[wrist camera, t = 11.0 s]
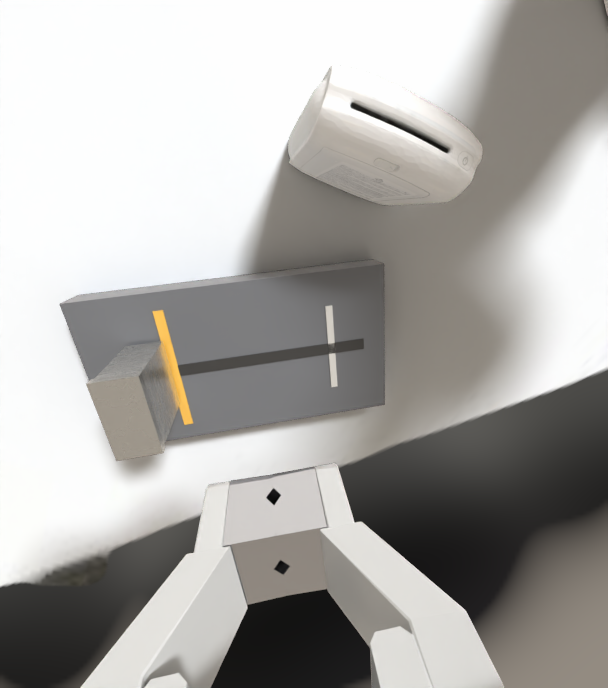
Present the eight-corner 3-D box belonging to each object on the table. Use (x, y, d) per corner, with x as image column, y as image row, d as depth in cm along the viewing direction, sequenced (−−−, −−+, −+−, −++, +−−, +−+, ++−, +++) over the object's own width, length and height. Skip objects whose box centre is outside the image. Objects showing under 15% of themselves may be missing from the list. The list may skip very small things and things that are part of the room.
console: (372, 259, 31) (384, 263, 28) (374, 389, 36) (385, 405, 33) (78, 295, 28) (58, 304, 25) (127, 429, 34) (115, 450, 31)
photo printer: (410, 161, 28) (518, 126, 17) (390, 212, 29) (476, 212, 18) (297, 108, 26) (333, 24, 14) (280, 166, 27) (300, 133, 16)
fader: (164, 339, 27) (138, 376, 21) (181, 403, 30) (163, 453, 24) (123, 345, 27) (86, 383, 21) (144, 409, 29) (116, 461, 23)
